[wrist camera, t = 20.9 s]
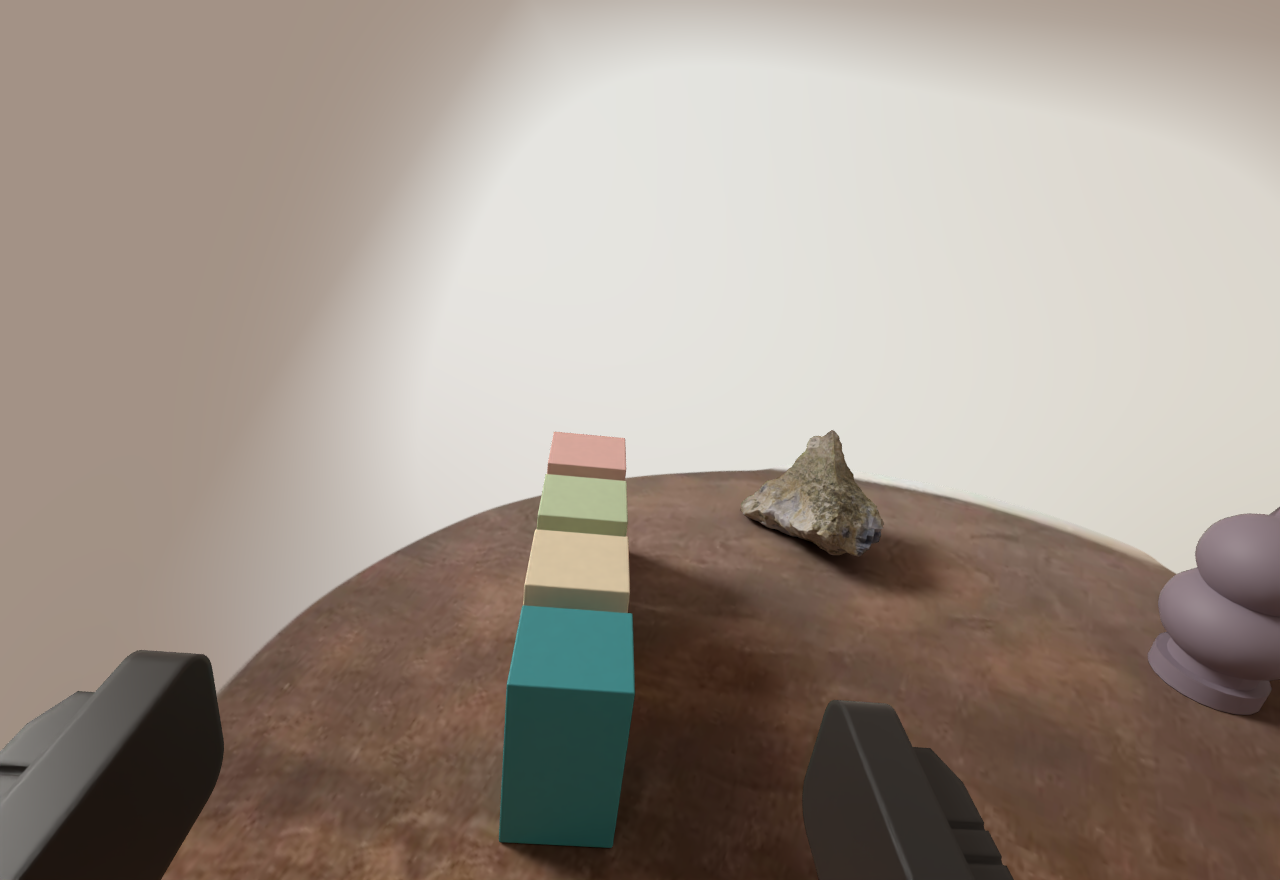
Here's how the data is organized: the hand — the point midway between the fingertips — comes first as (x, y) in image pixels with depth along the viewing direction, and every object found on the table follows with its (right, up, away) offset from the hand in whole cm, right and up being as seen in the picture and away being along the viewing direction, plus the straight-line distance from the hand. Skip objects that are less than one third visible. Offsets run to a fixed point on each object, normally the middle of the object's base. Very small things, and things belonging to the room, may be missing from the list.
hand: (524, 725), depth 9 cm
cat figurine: (+39, -12, +38) cm, 56 cm away
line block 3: (-3, -10, +30) cm, 32 cm away
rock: (+15, -5, +49) cm, 51 cm away
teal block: (-2, -13, +24) cm, 28 cm away
